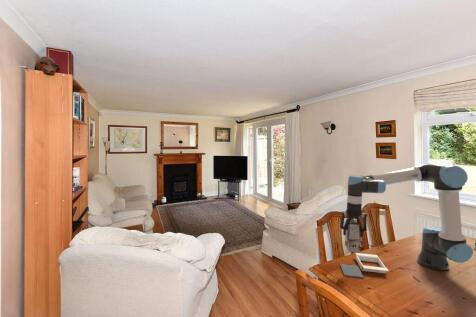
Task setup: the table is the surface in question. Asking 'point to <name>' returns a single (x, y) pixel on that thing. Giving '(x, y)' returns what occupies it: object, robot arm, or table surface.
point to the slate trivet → (351, 271)
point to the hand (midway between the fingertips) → (352, 241)
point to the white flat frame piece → (370, 258)
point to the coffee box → (353, 236)
